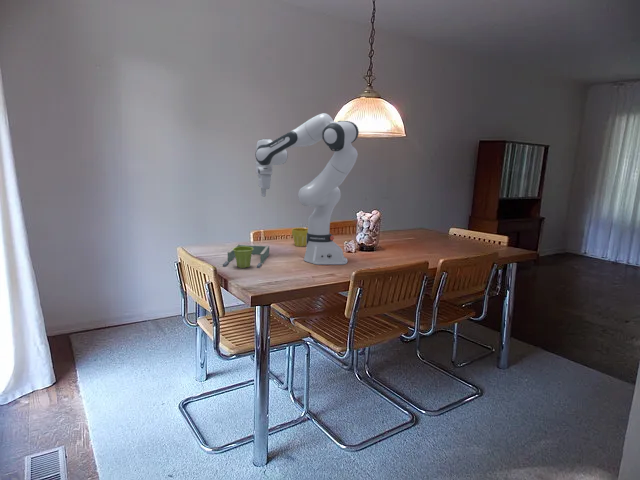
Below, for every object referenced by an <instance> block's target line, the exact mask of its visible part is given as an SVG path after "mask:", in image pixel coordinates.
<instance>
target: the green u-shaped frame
mask: <svg viewBox="0 0 640 480" xmlns="http://www.w3.org/2000/svg"><path fill="white" fill-rule="evenodd" d="M241 246H248V247H252V248H253V251H252V255H260V259H259V260H260V262H259V263H262V265H263V264H264V262H265V261H266V260H267V258H268V257H269V255H270V245H252V244H251V245H249V244H248V245H247V244H240V243H236V244H235V245H234V246H233V247H232V248H231V249H229V250H228V251H227V262H229V263H231V262H232V261H233V260H234V259H236V257H235V253H234V251H233V248H235V247H241Z"/></svg>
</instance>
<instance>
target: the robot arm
mask: <svg viewBox="0 0 640 480" xmlns="http://www.w3.org/2000/svg"><path fill="white" fill-rule="evenodd" d="M359 131H360V130H359V128H358V126H357V124H355V123H354V122H352V121H348V120H337V121H334V119H333V118H332V116H331V115H330V114H328V113H326V112H324V113H319V114H317V115H314V116H313V117H311V118H309V119H307V121H305V122H304V123H302V124H300V125H299V126H297V127H296V128H294V129H292V130H291V131H290V132H287V133H285V134H283V135H281V136H280V137H278V138H276V139H275V140H272V139H270V138H261V139H259V140H258V141H257V142H256V149H255V159H256V161H255V174H257V177H258V179H257V180H258V182H257V183H258V187H259V188H260V192H261V197H266V194H267V190H270V187H271V180H272V175H273V166H281V165H284V164H286V163H287V162H288V158H289V154H288V149H291V148H298V147H310V146H312V145H315V144H317V143H318V142H320V141H323V142H324V144H325V145H326V146H327V147H328V148H329V150H330V151H332V152H333V154H332V156H331V158H330V159H329V160H328V162H327V164H326V165H325V166H324V168H323V170H321V172H320V173H318V175H317V176H316V177H315V178H313V179H312V180H311V181H310V182H308V183H307V184H306V185H304V186H302V187H300V189H299V190H298V194H297V195H298V196H297V197H298V201H299V202H300V204H301V205H303V206H304V207H310V208H314V209H313V212H312V213H311V214H310V215H309V216H308V219H307V229H308V233H307V237H306V242H307V243H306V247H305V248H306V249H305V254H304V257H303V261H305V262H307V263H310V264H313V265H319V266H320V265H347V263H348V258H347V257H345V256H344V251H343V249H342V247H340V245H338V244H337V242H335V241H334V239H335V236H334V235H333V234H331V233H330V229H331V228H330V227H331V226H330V225H331V217H332V215H333V211H334V208H335V207H336V205H337V204H338V203H339V202H340V200H341V197H342V192H341V190H340V188H339V187H340V186H341V185H342V183H343V182H344V181H345V179H346V178H347V176H348V175H349V174H350V173H351V171H352V169H353V168H354V166H355V164H356V162H357V159H358V156H359V154H358V153H359V152H358V151H357V148H355V146H353V145H352V143H354V142H355V141H356V140H357V139H358V136H359Z"/></svg>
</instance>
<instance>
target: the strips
mask: <svg viewBox="0 0 640 480" xmlns="http://www.w3.org/2000/svg"><path fill="white" fill-rule="evenodd" d="M229 264H230V262H228V260H227V261H225V262H224V263H223V264H222V267H228V265H229ZM262 266H263V264H262V263H260V262H258V263H257V265H256V269H260V268H261V267H262Z"/></svg>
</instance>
